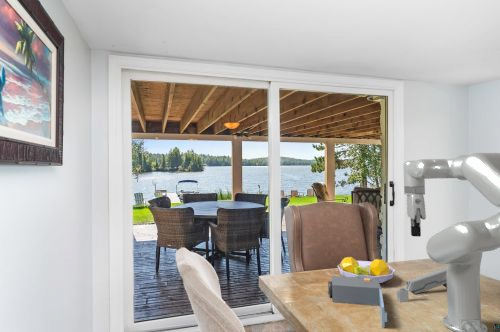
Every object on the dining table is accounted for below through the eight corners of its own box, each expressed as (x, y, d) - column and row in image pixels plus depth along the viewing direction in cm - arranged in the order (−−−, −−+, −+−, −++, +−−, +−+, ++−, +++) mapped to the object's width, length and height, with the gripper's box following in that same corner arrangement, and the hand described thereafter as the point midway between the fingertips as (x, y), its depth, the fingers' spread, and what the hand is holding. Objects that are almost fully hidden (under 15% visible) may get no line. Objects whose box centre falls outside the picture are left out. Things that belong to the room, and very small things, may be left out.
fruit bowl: (357, 268, 175) (357, 248, 175) (406, 281, 153) (405, 257, 153) (324, 279, 158) (323, 256, 159) (373, 295, 136) (372, 268, 137)
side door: (384, 305, 124) (383, 288, 124) (387, 327, 107) (386, 307, 107) (379, 305, 125) (378, 288, 125) (381, 327, 107) (381, 307, 107)
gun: (463, 288, 140) (458, 266, 140) (414, 305, 136) (408, 282, 136) (459, 286, 142) (453, 264, 142) (410, 302, 138) (405, 280, 138)
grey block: (381, 306, 125) (381, 286, 125) (328, 301, 130) (328, 282, 130) (377, 294, 136) (377, 276, 137) (328, 291, 141) (328, 273, 142)
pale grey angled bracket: (399, 302, 128) (399, 282, 129) (397, 300, 130) (396, 281, 130) (415, 300, 130) (414, 281, 130) (412, 299, 131) (411, 279, 132)
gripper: (430, 191, 120) (431, 240, 119) (419, 189, 134) (421, 232, 134) (408, 191, 122) (410, 239, 121) (400, 190, 136) (401, 232, 136)
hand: (415, 235), depth 128 cm, fingers closed
